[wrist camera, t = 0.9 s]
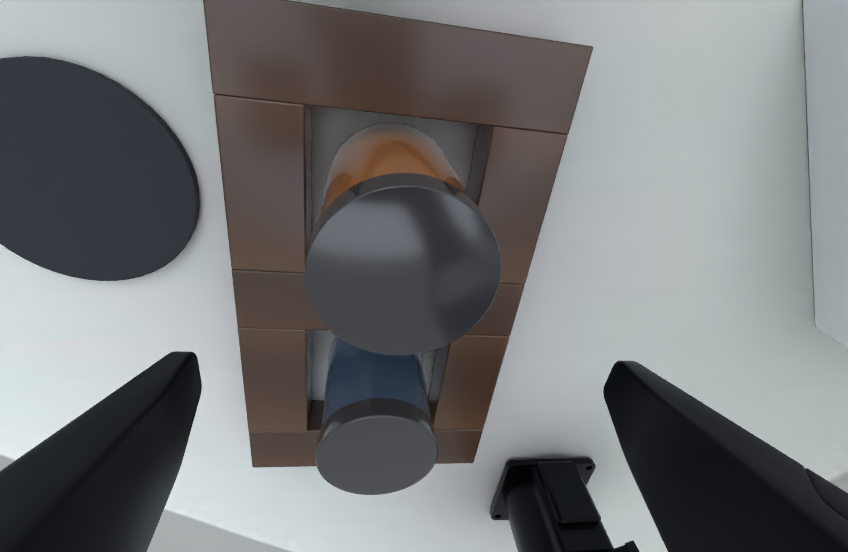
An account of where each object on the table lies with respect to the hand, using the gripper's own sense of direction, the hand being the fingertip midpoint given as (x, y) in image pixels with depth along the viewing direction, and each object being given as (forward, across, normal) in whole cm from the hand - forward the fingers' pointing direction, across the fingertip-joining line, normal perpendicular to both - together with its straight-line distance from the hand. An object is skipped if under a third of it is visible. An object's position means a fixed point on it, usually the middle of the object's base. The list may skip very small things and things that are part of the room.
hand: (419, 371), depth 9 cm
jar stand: (+12, 0, +5) cm, 13 cm away
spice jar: (+12, 0, +10) cm, 15 cm away
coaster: (+12, +12, +1) cm, 17 cm away
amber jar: (+12, 0, 0) cm, 12 cm away
